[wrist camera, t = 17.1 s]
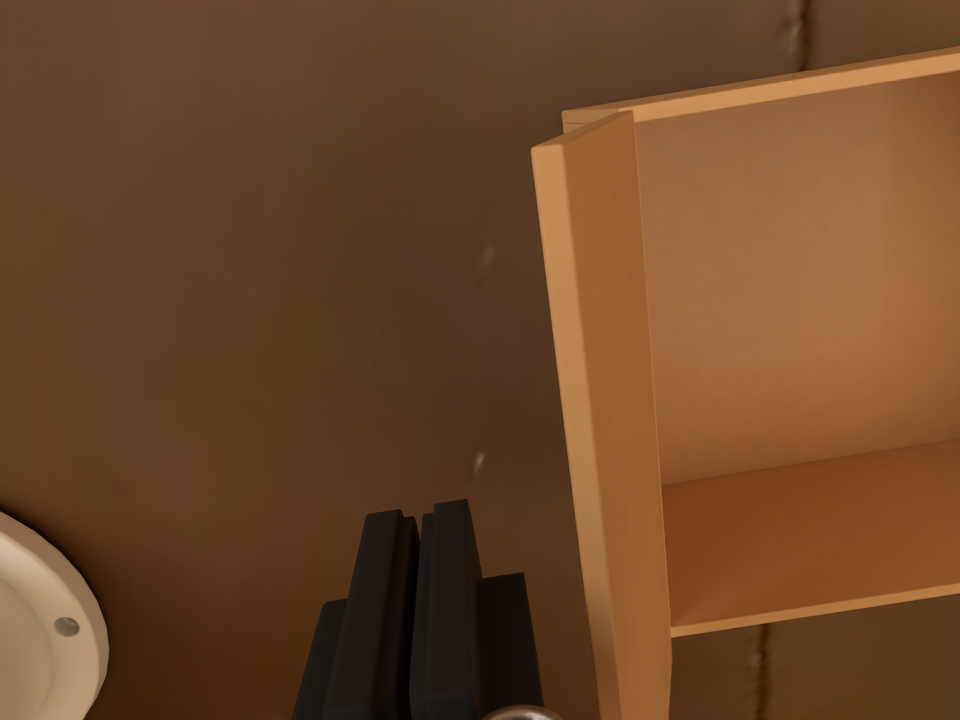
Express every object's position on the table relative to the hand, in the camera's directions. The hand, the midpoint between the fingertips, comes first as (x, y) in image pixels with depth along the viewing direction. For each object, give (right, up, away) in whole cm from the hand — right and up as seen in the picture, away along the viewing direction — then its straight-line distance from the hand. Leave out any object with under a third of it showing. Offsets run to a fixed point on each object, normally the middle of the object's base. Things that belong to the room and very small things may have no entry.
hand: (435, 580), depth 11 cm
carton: (+11, +6, +12) cm, 17 cm away
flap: (+4, +1, +1) cm, 4 cm away
